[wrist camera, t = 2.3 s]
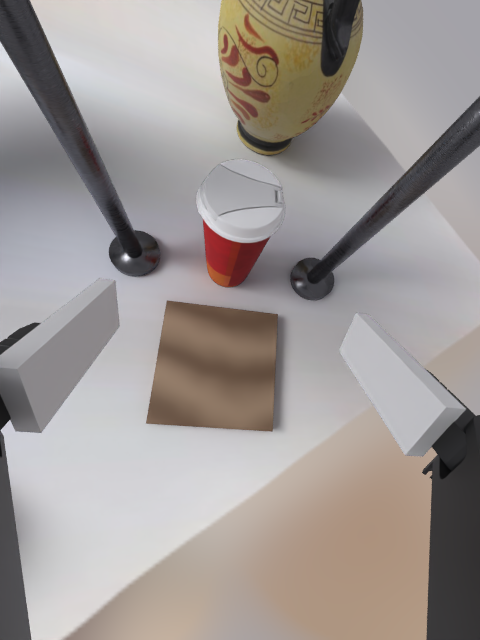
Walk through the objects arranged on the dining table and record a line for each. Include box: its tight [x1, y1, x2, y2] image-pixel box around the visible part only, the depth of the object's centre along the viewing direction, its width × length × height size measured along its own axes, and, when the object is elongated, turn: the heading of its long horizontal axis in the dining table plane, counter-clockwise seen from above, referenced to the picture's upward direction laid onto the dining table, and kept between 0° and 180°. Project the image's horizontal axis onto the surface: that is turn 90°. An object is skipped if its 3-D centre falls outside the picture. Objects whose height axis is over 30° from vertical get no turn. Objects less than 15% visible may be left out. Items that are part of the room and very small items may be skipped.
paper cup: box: [196, 159, 285, 287], centre depth 27 cm, size 8×8×14 cm
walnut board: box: [146, 301, 278, 431], centre depth 29 cm, size 14×14×1 cm
